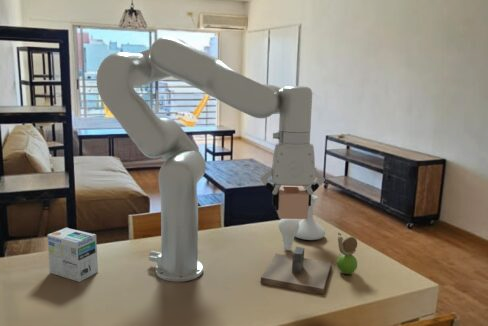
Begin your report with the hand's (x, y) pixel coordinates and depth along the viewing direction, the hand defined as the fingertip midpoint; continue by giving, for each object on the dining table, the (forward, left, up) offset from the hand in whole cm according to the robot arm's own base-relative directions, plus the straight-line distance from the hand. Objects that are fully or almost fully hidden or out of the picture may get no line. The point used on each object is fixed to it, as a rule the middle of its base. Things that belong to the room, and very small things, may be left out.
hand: (291, 208), depth 109 cm
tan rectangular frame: (0, 0, -1) cm, 1 cm away
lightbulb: (-4, +20, -20) cm, 29 cm away
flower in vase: (-1, +34, -20) cm, 40 cm away
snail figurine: (+14, +11, -20) cm, 27 cm away
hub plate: (+2, +5, -20) cm, 21 cm away
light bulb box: (-53, -16, -20) cm, 59 cm away
